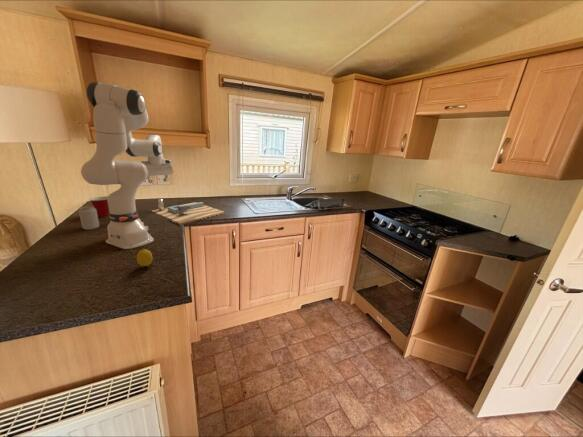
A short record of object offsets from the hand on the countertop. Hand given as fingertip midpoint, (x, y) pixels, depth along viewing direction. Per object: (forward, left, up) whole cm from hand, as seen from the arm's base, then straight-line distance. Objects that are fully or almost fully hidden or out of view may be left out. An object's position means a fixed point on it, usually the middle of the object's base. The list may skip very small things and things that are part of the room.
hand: (158, 182), depth 160 cm
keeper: (-17, -6, -20) cm, 27 cm away
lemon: (-64, +41, -21) cm, 79 cm away
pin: (0, 0, -20) cm, 20 cm away
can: (-1, +40, -21) cm, 45 cm away
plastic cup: (+17, +28, -21) cm, 39 cm away
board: (-13, -12, -21) cm, 28 cm away
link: (-8, -15, -19) cm, 26 cm away
